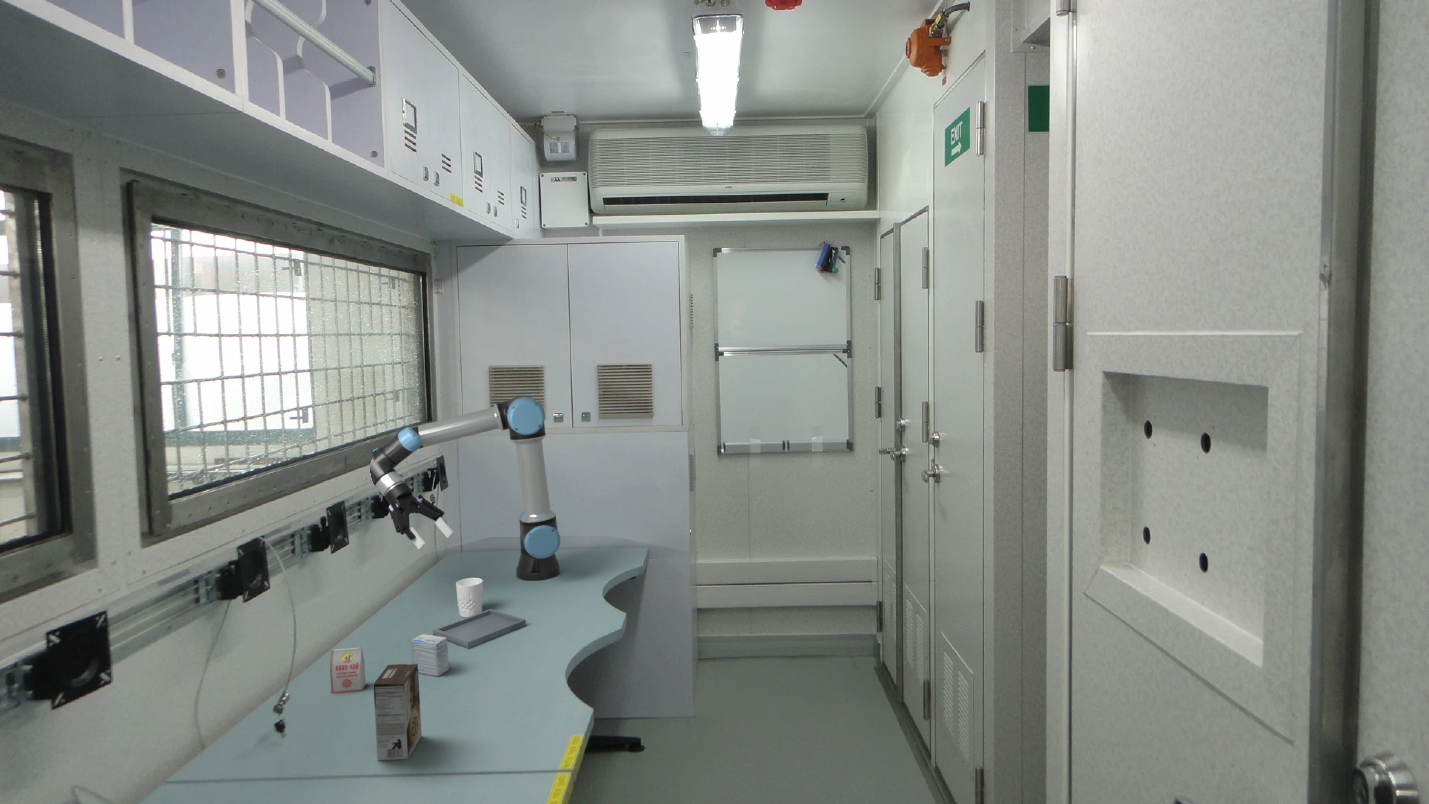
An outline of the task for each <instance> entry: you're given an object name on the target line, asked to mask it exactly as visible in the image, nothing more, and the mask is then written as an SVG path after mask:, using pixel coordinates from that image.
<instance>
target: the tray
mask: <svg viewBox="0 0 1429 804" xmlns="http://www.w3.org/2000/svg"><path fill="white" fill-rule="evenodd" d="M526 621H527V620H526V619H524V618H521V617H518V616H515V615H512V614H509V613H506V612H502V611H499V610H496V609H492V608H490V609H487V610H484V611H483V610H482V612H481V613H478V614H475V615H472V616H470V617H463V618H461V619H458V620H456V621H453V622H450V623H448V624H445V625H442V626H439V627H436V628H434V629H432V635H433V636H440V637H446V638H447V643H451V644H453V645H456V646H459V647H461V648H464V649H467V650H469V649H471V648H474V647H476V646H479V645H481V644H484V643H487V642H489V641H491V640H493V639H496V638H499V637H501V636H503V635H506V634H509V633H511V632H514V631H516V630H518V629H519V630H520V629H521V628H524V627H526V625H527V622H526Z"/></svg>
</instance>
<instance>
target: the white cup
mask: <svg viewBox="0 0 1429 804" xmlns="http://www.w3.org/2000/svg"><path fill="white" fill-rule="evenodd" d="M455 588H456V589H455V591H456V598H457V599H456V600H457V607H458V615H459V616H460V617H461V618H467V617H470V616H472V615H475V614H478V613H481V612H483V599H484V598H483V597H484V580H483V579H482V578H480V577H468V578H462V579H460V580H458V581H456V582H455Z"/></svg>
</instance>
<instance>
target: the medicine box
mask: <svg viewBox="0 0 1429 804" xmlns="http://www.w3.org/2000/svg"><path fill="white" fill-rule="evenodd" d="M410 647H411V664H418V674H421V675H426V676H427V675H428V676H434V677H439V676H441V675H443V674H445V673H446V672H447V671H448V670H449V669H450V667H449V651H448V650H449V649H448V647H449V646H448V641H447V638H446V637H440V636H433V634H425V633H423V634H420V635H417V637H415V638H412V639H411V640H410Z"/></svg>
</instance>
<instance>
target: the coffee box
mask: <svg viewBox="0 0 1429 804" xmlns="http://www.w3.org/2000/svg"><path fill="white" fill-rule="evenodd" d="M372 686H373V701H374V702H373V703H374V718H375V736H376V737H375V738H376V739H375V740H376V755H377V757H376V758H377V761H393V760H394V761H395V760H397V761H398V760H408V759H410V757H411V756H412V753H413V751H414V749H415V748H416V747H417V744H418V743H419V741H420V739H421V737H422V722H421V721H422V719H421V701H420V700H421V699H420V697H421V696H420V681H419V673H418V664H412V663H411V664H407V663H402V664H401V663H399V664H397V663H396V664H388V665H387V666H386V667H385V668H384V669H383V671H382V672H381V673H380V675H379V676H378V678H377V679H376V680H375V682H374V683H373V685H372Z"/></svg>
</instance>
